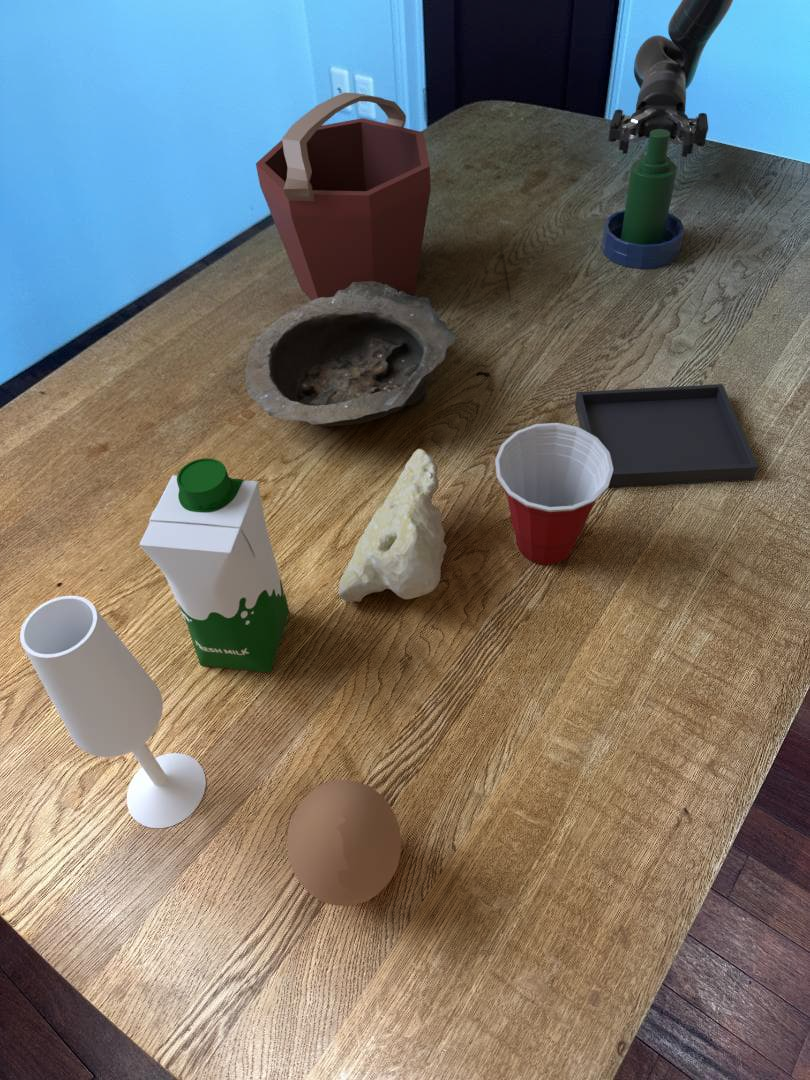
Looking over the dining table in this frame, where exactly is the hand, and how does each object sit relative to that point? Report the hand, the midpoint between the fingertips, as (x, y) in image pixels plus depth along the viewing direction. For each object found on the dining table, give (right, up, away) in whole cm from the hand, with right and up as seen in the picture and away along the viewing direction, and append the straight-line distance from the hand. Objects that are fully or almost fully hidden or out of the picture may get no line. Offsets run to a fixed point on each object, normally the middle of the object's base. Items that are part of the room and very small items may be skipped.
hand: (655, 148), depth 119 cm
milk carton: (-52, -67, -41) cm, 94 cm away
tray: (-8, -46, -26) cm, 54 cm away
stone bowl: (-44, -40, -18) cm, 62 cm away
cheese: (-37, -59, -35) cm, 78 cm away
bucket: (-44, -20, 0) cm, 48 cm away
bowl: (-2, -15, +1) cm, 15 cm away
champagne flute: (-57, -79, -51) cm, 110 cm away
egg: (-41, -83, -56) cm, 108 cm away
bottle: (-2, -15, 0) cm, 15 cm away
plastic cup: (-22, -58, -35) cm, 72 cm away
